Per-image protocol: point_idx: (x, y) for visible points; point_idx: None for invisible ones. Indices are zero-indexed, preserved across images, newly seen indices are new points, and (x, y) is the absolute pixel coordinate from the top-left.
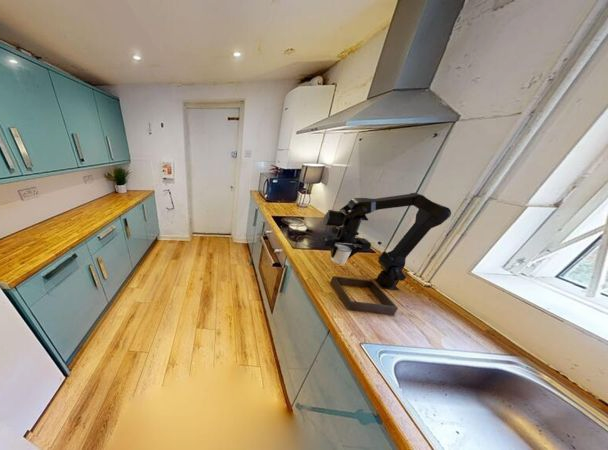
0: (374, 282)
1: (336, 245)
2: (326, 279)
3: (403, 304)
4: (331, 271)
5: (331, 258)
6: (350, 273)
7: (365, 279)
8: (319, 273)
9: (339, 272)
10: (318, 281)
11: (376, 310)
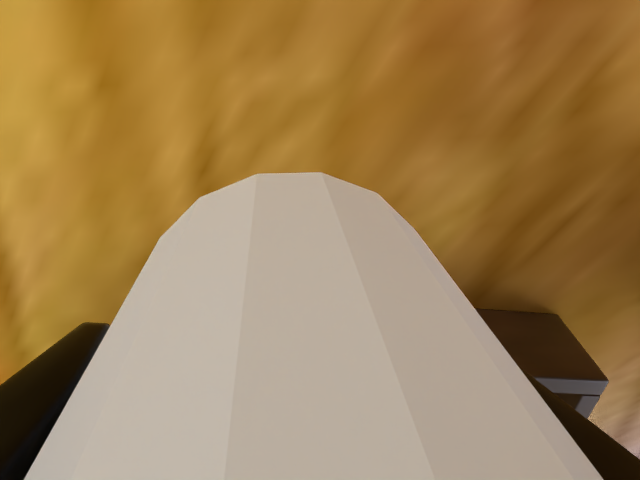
0: (591, 410)
1: None
2: (148, 232)
3: (631, 449)
4: (312, 53)
5: (156, 245)
6: (568, 91)
7: (539, 378)
8: (93, 113)
9: (423, 74)
10: (27, 272)
11: None
